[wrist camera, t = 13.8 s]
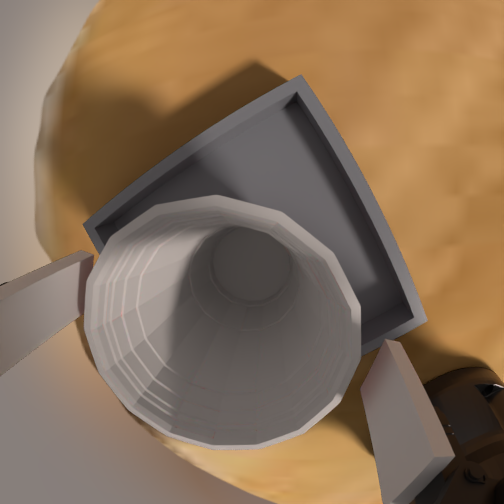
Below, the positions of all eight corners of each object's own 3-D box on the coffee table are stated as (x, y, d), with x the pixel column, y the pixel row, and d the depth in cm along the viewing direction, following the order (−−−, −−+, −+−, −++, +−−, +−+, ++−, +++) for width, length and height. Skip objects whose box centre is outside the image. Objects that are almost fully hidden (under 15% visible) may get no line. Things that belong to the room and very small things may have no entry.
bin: (411, 301, 22) (427, 320, 19) (221, 388, 26) (212, 414, 23) (300, 89, 20) (301, 74, 16) (107, 216, 24) (82, 224, 20)
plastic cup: (362, 271, 21) (420, 370, 10) (248, 355, 24) (213, 477, 12) (259, 149, 20) (214, 120, 9) (151, 252, 23) (44, 319, 11)
